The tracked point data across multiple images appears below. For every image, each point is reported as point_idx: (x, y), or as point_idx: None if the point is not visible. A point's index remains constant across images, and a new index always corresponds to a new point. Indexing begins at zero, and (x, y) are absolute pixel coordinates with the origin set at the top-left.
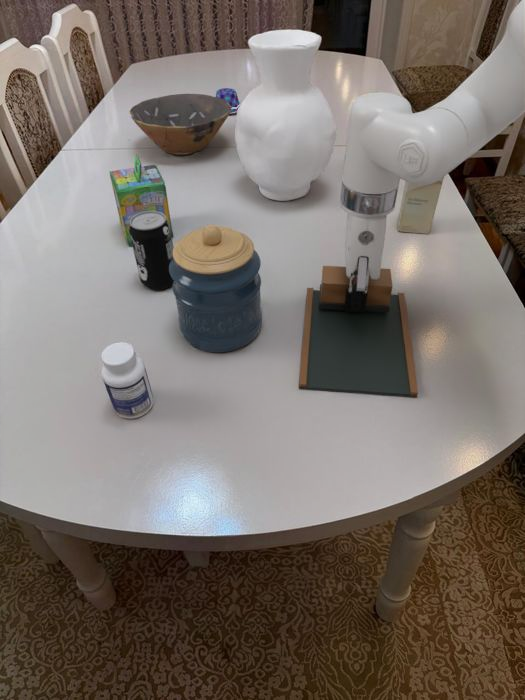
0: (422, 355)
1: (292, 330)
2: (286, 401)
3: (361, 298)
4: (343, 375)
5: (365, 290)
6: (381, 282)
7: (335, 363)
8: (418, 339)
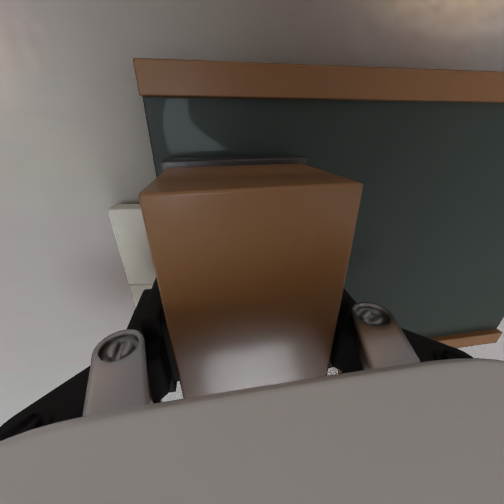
0: (492, 25)
1: (331, 368)
2: (499, 342)
3: (354, 303)
4: (498, 271)
5: (460, 353)
6: (317, 254)
7: (460, 290)
8: (412, 28)
